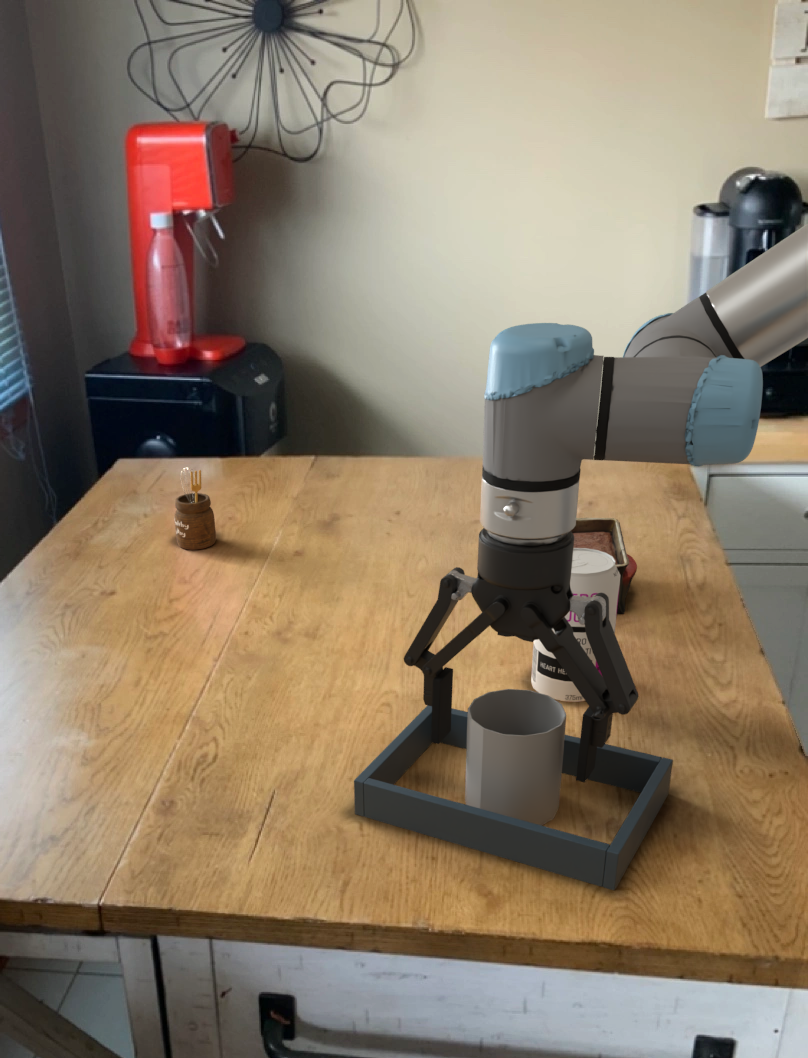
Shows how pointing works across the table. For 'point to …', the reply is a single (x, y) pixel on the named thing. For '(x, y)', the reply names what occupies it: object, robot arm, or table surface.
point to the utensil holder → (194, 518)
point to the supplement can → (577, 622)
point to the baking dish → (607, 548)
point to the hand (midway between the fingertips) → (510, 755)
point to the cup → (515, 754)
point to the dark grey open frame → (507, 833)
